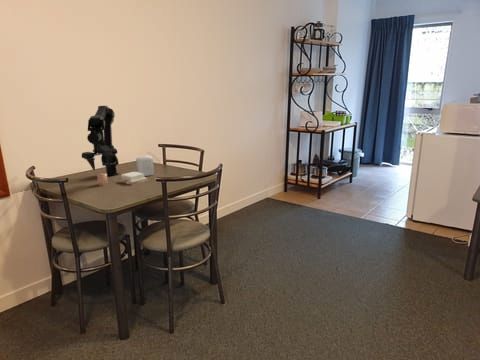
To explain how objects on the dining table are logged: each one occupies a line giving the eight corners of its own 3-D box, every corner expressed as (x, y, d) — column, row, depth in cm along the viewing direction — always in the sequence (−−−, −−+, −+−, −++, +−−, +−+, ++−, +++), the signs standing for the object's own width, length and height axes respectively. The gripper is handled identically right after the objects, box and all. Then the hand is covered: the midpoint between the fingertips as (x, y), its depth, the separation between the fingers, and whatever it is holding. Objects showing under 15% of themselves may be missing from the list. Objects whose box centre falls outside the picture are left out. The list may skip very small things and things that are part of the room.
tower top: (121, 178, 208) (121, 174, 207) (134, 175, 214) (134, 171, 214) (131, 181, 202) (130, 177, 202) (144, 178, 209) (144, 173, 208)
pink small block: (96, 184, 202) (95, 174, 201) (104, 182, 206) (103, 172, 205) (101, 186, 199) (100, 175, 198) (109, 184, 203) (108, 173, 202)
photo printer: (152, 173, 226) (151, 154, 223) (155, 175, 223) (153, 155, 219) (136, 176, 221) (134, 156, 217) (138, 177, 217) (137, 157, 214)
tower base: (119, 183, 208) (119, 179, 207) (135, 179, 216) (135, 175, 216) (132, 186, 201) (131, 182, 201) (147, 181, 210) (147, 177, 209)
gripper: (91, 144, 184) (94, 174, 189) (122, 139, 199) (124, 167, 203) (79, 142, 191) (82, 170, 195) (109, 137, 205) (112, 164, 210)
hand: (101, 168), depth 200 cm, fingers open, 9 cm apart
